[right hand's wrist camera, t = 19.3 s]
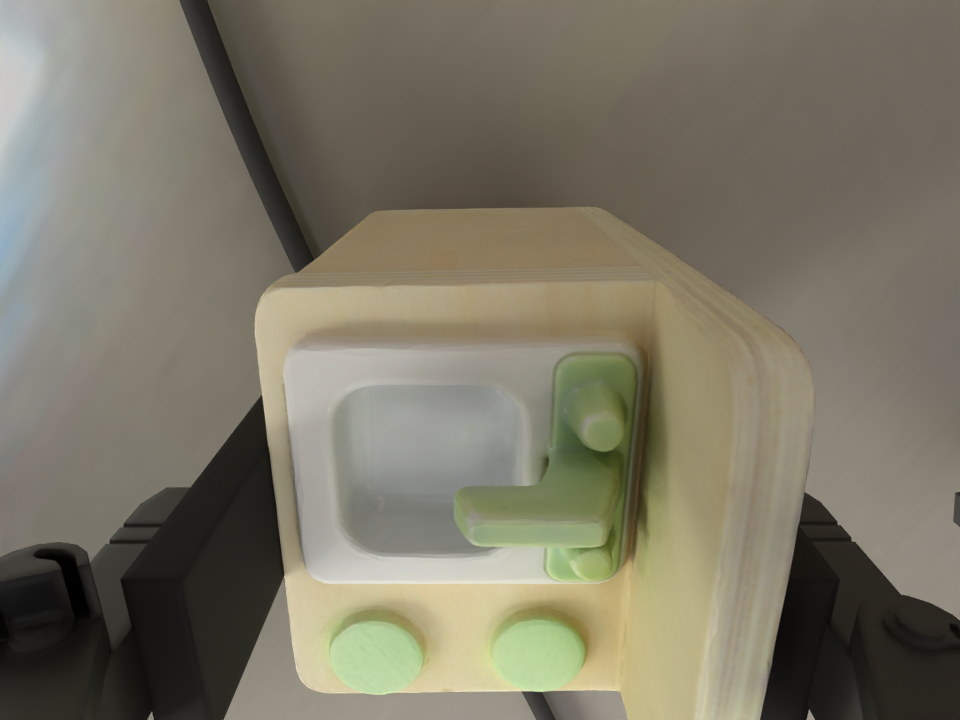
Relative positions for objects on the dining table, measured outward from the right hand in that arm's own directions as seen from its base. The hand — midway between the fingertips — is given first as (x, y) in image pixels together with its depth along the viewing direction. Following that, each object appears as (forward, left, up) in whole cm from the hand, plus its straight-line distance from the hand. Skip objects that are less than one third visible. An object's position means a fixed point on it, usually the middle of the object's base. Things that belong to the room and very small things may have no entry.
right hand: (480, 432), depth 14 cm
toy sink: (0, 0, -6) cm, 6 cm away
